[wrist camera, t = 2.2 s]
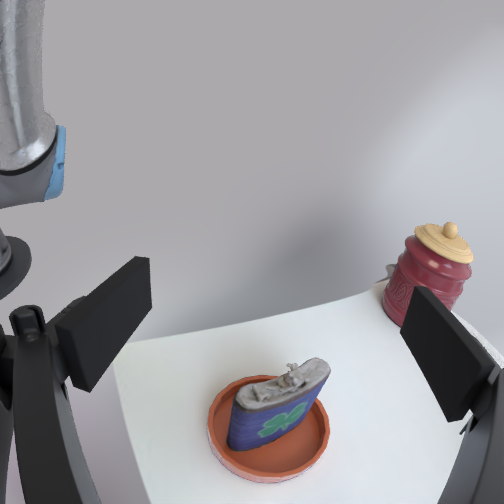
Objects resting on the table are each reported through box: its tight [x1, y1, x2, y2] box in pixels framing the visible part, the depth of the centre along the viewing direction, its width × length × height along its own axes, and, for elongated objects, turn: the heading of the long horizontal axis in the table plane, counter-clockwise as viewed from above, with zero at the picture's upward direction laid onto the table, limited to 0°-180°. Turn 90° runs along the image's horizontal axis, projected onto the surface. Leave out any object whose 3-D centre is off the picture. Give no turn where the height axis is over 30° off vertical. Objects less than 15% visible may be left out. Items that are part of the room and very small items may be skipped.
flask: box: [225, 358, 331, 452], centre depth 24 cm, size 9×3×11 cm, turn 120°
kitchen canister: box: [382, 222, 474, 327], centre depth 43 cm, size 13×13×18 cm
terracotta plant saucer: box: [207, 375, 330, 483], centre depth 26 cm, size 12×12×2 cm
